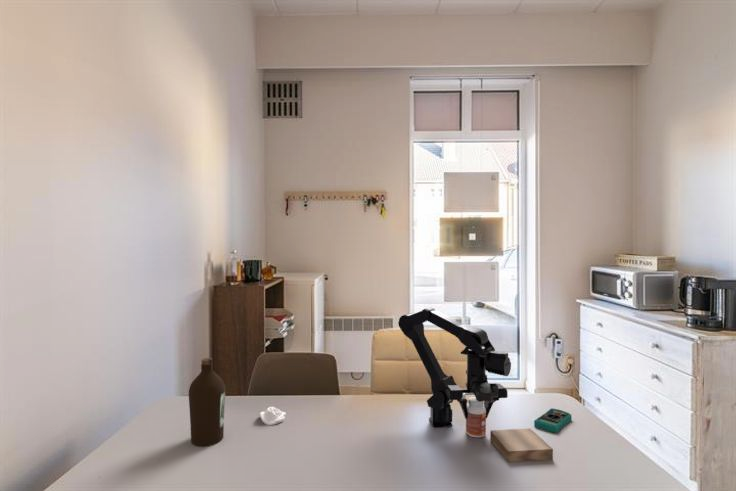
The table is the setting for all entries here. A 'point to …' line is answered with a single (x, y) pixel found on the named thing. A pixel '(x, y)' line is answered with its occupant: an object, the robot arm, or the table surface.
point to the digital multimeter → (553, 420)
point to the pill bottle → (476, 418)
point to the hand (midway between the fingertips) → (475, 418)
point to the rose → (272, 416)
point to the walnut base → (521, 445)
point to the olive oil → (207, 406)
